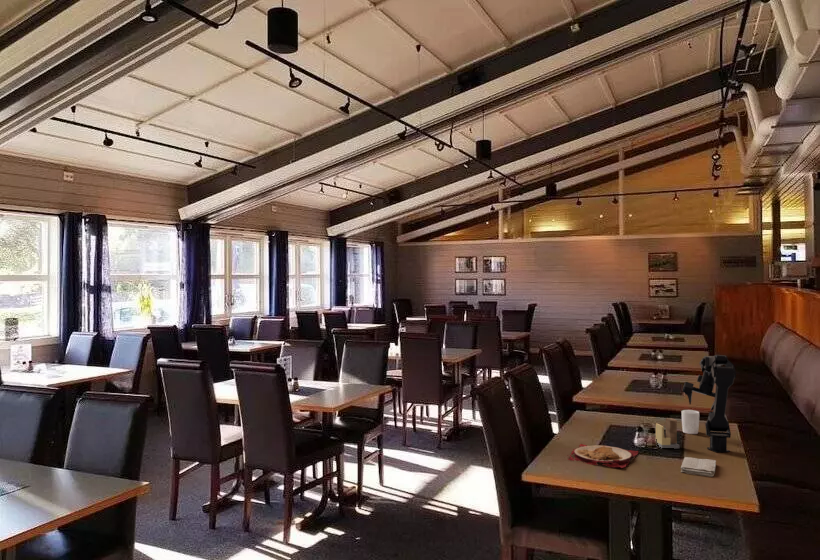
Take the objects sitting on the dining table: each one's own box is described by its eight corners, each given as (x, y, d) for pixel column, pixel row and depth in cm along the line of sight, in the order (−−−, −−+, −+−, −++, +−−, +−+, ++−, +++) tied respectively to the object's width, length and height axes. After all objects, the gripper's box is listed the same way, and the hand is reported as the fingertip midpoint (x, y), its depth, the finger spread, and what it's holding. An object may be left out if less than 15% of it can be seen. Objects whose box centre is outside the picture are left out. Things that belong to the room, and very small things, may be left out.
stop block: (672, 440, 275) (672, 418, 274) (676, 443, 271) (676, 420, 270) (665, 441, 274) (665, 418, 274) (669, 443, 270) (670, 420, 270)
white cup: (695, 430, 301) (696, 410, 301) (701, 434, 293) (702, 413, 293) (678, 430, 302) (679, 409, 302) (684, 434, 294) (684, 413, 294)
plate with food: (638, 455, 261) (638, 447, 261) (623, 470, 239) (623, 461, 239) (580, 447, 274) (580, 439, 274) (561, 461, 252) (561, 452, 252)
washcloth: (680, 474, 236) (680, 466, 236) (683, 461, 252) (683, 454, 252) (715, 479, 230) (715, 470, 230) (716, 466, 246) (716, 458, 246)
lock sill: (672, 444, 276) (672, 423, 276) (679, 448, 269) (679, 426, 269) (655, 444, 275) (655, 423, 275) (661, 448, 269) (662, 426, 269)
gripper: (731, 377, 288) (723, 404, 296) (688, 365, 296) (681, 392, 303) (730, 389, 280) (721, 417, 287) (686, 377, 287) (678, 404, 294)
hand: (700, 407), depth 293 cm, fingers open, 9 cm apart
